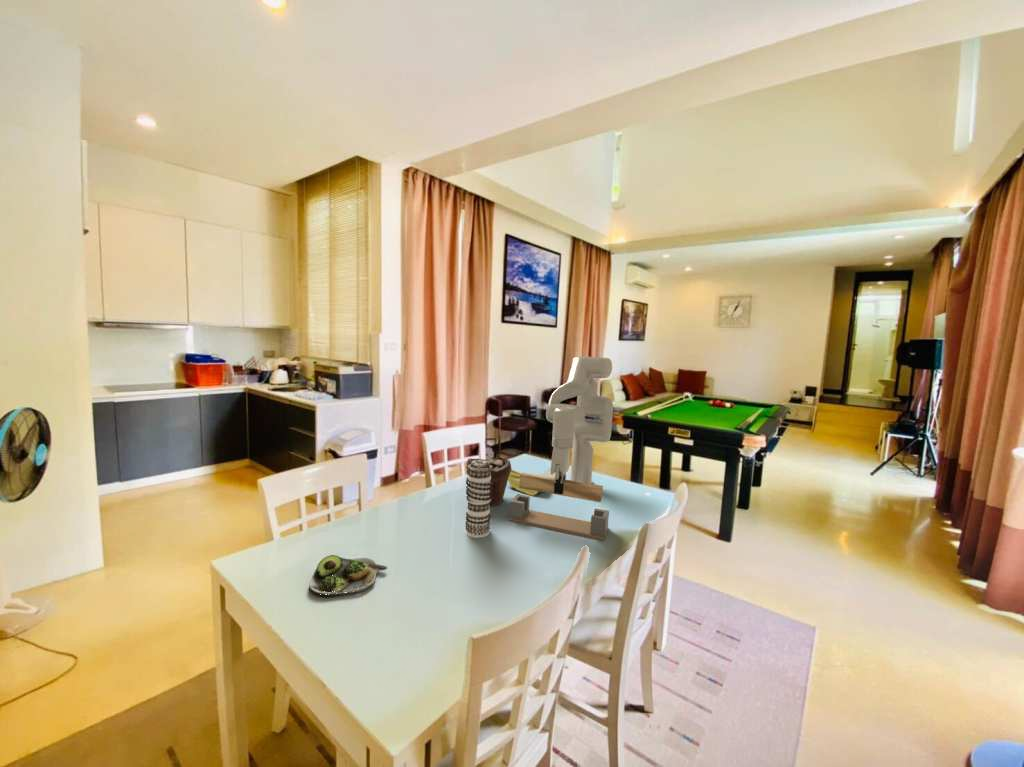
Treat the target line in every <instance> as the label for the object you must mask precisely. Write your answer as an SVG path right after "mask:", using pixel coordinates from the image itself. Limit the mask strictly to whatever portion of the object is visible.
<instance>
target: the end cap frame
mask: <svg viewBox="0 0 1024 767" xmlns="http://www.w3.org/2000/svg"><path fill="white" fill-rule="evenodd" d="M530 497H531V495H528V494H520V493H517V494H516V495H514V497H513V498H512V499H511V500H510V501H509V517H508V521H509V522H515V523H519V524H525V525H530V526H533V527H538V528H543V529H548V530H553V531H557V532H561V533H562V532H563V533H565V534H566V533H567V534H572V535H576V536H581V537H586V538H591V539H596V540H600V541H605V538H606V535H607V532H608V530H609V516H610V515H609V514H610V510H607V509H602V508H594V509H593V512H594V513H593V514H592V515H591V517H590V521H587V520H582V519H577V518H573V517H569V516H568V517H566V516H563V515H562V516H561V515H557V514H552V513H546V512H542V511H537V510H532V509H530V501H531V500H530V499H531V498H530Z"/></svg>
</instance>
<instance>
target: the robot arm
mask: <svg viewBox="0 0 1024 767" xmlns="http://www.w3.org/2000/svg"><path fill="white" fill-rule="evenodd" d="M612 371H613V362H612V360H611V359H610V358H609V357H598V356H576V357H574V358H573V359H572V361H571V368H570V370H569V374H568V378H567V381H566V382H565V383H564V384H562V385H560V386H559V387H557V389H555V390H554V391H553V393H552V394H551V395H550V397H549V399H548V403H547V406H546V411H545V416H546V420H547V421H548V422H550V423H552V436H551V437H552V438H551V439H552V440H551V446H552V447H553V449H552V456H551V463H550V464H551V465H550V472H549V473H550V474H551V475H554V478H555V482H554V493H557V494H563V484H564V483H563V479H565V480H567V472H568V471H569V469H570V480H571V481H577V482H583V483H589V484H594V483H593V482H592V480H593V479H592V478H593V464H594V448H593V444H592V443H591V442H597V443H608V442H609V441H610V440H611V436H612V425H613V413H614V412H613V410H614V404H613V400H612V399H611V398H610V397H609V396H602V395H598V383H597V381H596V379H608V378H609V377H610V376H611V375H612ZM575 397H577V398H576V404H567V403H561V402H563V401H566V400H568V399H572V398H575ZM586 417H591V418H593V417H594V418H599V419H601V420H597V419H590V418H586ZM571 449H572V450H571ZM571 451H572V452H571ZM570 463H571V468H570ZM557 494H556V495H557Z"/></svg>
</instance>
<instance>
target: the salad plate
mask: <svg viewBox="0 0 1024 767" xmlns="http://www.w3.org/2000/svg"><path fill="white" fill-rule="evenodd" d="M387 569H388V566H386V565H384V564H383V565H382V564H377V563H376V562H375V560H373V559H371V558H369V557H358V558H344V557H341V556H339V555H335V554H331V555H327V556H325V557H323V558H322V559H321V560H320V561H319V563H318V564H317V566H316V569H315V571H314V573H313V575H312V577H311V580H310V583H309V585H308V586H309V587H308V590H309V592H311V593H312V595H315V596H317V597H322V598H330V597H332V598H333V597H337V596H344V595H350V594H354V593H359V592H362V591H364V590H367V589H368V588H369V587H371V586H373V585H374V583H375V581H376V577H377V574H378V572H380V571H381V572H382V571H386V570H387ZM332 575H333V576H332ZM358 582H361V583H362V585H360V586H359V587H356V588H354V589H350V590H345V591H343V590H344V589H345V588H346V587H347V586H349V585H350V584H353V583H358ZM339 589H340V590H339ZM324 591H325V592H324ZM332 591H333V592H332ZM334 591H335V592H334ZM353 591H354V592H353ZM329 592H330V593H329ZM344 592H347V593H344ZM336 593H337V594H336ZM320 594H321V595H320ZM325 594H327V595H325ZM328 594H329V595H328Z"/></svg>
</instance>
